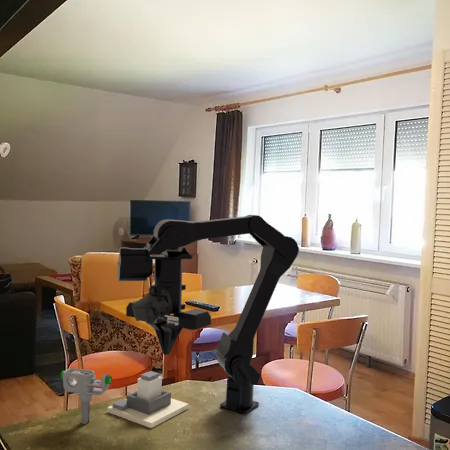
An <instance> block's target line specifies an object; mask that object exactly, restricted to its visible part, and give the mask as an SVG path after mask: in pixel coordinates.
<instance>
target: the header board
mask: <svg viewBox="0 0 450 450" xmlns="http://www.w3.org/2000/svg"><path fill="white" fill-rule="evenodd" d="M189 404H190V403H187V402H184V401H181V400H178V399H174V398H172V392H170V391H167V390H164V389H161V396H159V397H157V398H155V399H153V400H151V401H147V400H144V399H141V398H138V397H137V390H136V391H134V392H131V393H129V394H127V395H126V399H123V398H122V399H120V400H116V401H115V402H113V403H112V405H109V406H108V407H107V413H108V414H111V415H115V416H117V417H119V418H123V419H125V420H128V421H130V422H133V423H135V424H139V425H141V426H144V427H147V428H149V429H152V428H154V427H157V426H158V425H160V424H162V423H164V422H166V421H168V420H169V419H171V418H173V417H175V416H177V415H179V414H181V413H182V412H185V411H186V410H188V409H189V406H190V405H189Z"/></svg>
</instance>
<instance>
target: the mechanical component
mask: <svg viewBox="0 0 450 450" xmlns="http://www.w3.org/2000/svg"><path fill="white" fill-rule="evenodd" d="M60 379H61V380H62V381H63V382H62V383H63V385H62V386H63V389H64V390H65V391H66V392H67V393H76V394H79V398H78V400H79V401H80V402H81V409H80V410H81V412H80V413H81V414H80V417H81V418H80V423H81V424H84V425H85V424H87V425H88V422H90V413H91V412H90V409H91V403H90V402H92V400H93V396H102V395H103V394H104V393H105V392H106V391H108V390H109V389H110V385H111V384H112V383H113V376H112V375H110V374H107V373H105V374H103V375H102V377H101V379H97V375H95V371H94V370H92V369H91V370H90V369H82V368H72V367H69V368H68V369H66V370H64V369H63V370H62V371H61V372H60ZM98 387H99V388H98Z"/></svg>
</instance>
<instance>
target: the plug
mask: <svg viewBox="0 0 450 450" xmlns="http://www.w3.org/2000/svg"><path fill="white" fill-rule="evenodd" d="M162 383H163V377H162V376H160V373H159V372H155V371H151V370H150V371H146V372H145V373H142V374H140V377H139V378H137V387H136V389H137V390H136V391H137V397H138V398H141V399H144V400H147V401H151V400H153V399H155V398H157V397H159V396H161V390H163V389H162V387H163V386H162Z"/></svg>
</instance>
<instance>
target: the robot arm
mask: <svg viewBox="0 0 450 450" xmlns="http://www.w3.org/2000/svg"><path fill="white" fill-rule="evenodd" d="M240 235H250V236H251V237H252V238H253V239H254V240H255V241H256V242H257V243H258V244H259V245H260V246H261V247H262V250H261V254H260V267H259V268H260V269H259V272H258V273H257V276H256V278H255V281H254V283H253V286H252V288H251V290H250V293H249V295H248V296H247V297H248V298H247V300H246V302H245V303H244V307H243V308H242V311H241V313H240V316H239V318H238V320H237V323H236V325H235V327H234V329H233V330H232V331H231V332H230V333H226V332H222V334H221V337H220V340H219V343H218V344H217V345H216V347H215V350H216V355H215V356H216V360H217V362H218V364H219V365H220V367H222V369H223V370H224V372H225V374H227V375H228V377H227V380H226V390H225V392H226V394H225V400H224V401H222V402H221V403H220V404H219V407H221V408H224V409H227V410H230V411H234V412H237V413H240V414H243V415H244V414H247V413H248V412H250V411H252V410H253V409H255V408H257V407H258V406H259V405H260V402H259V401H255V400H254V389H255V388H254V385H258V383H259V381H260V378H261V374H260V373H259V372H258V371H257V370H256V369H255V368H254V367H253V366H252V365H251V364H252V360H253V356H254V346H255V345H254V344H255V342H254V339H255V336H256V334H257V331H258V330H259V327H260V325H261V323H262V320H263V318H264V316H265V313H266V311H267V308H268V306H269V303H270V302H271V300H272V296H273V294H274V292H275V290H276V287H277V285H278V283H279V280H280V278H281V277H282V276H283V275H284V274H286V272H287V271H288V270H289V269H290V268H291V267H292V265H293V264H294V262H295V260H296V259H297V257H298V255H299V252H300V247H299V245H298V242H297V241H296V239H294V238H293V237H291V236H288V235H285V234H283V233H282V232H281V231H279V230H278V229H276V228H275V227H274V226H272V225H271V224H269V223H268V221H266V220H264V218H263V217H262V216H260V215H258V214H248V215H245V216H238V217H237V216H236V217H228V218H226V217H225V218H219V219H217V218H216V219H209V220H199V221H194V220H193V221H191V220H182V219H181V220H180V219H162V220H160V221H158V222H157V224H156V225H155V227H154V229H153V235H152V236H151V238H150V239H149V240H148V242H147V243H146V244H145V246H144V247H143V248H138V247H135V248H133V247H131V248H130V247H125V246H124V247H123V246H121V247H119V253H118V261H117V262H116V268H117V271H116V272H117V273H116V274H117V275H116V276H117V281H118V282H147V279H148V278H151V277H152V276H153V275H154V278H153V279H154V280H153V284H152V285H149V288H148V294H147V295H145V296H143V297H141V298H140V299H138V300H135V301H130V302H128V304H127V306H126V307H125V308H126V309H125V313H126V314H125V316H126V317H130V318H134V319H135V321H137V322H139V321H140V322H144V323H145V324H146V325H149V326H150V327H151V328H152V329H154V331H155V334H156V336H157V339H158V342H159V345H160V349H161V351H162V355H164V356H168V355H170V354H171V352H172V349H173V348H174V345H175V343H176V341H177V339H178V337H179V335H180V334H181V332H182V330H183V329H186V330H190V331H191V330H192V331H196V330H199V329H202V328H205V327H208V326H211V325H212V316H211V314H210V312H209V311H208V310H203V309H202V310H201V309H197V308H193V309H190V310H186V304H185V303H182V298H183V297H182V296H183V295H182V293H183V292H182V291H185V290H186V289H187V287H186V284H183V260H193V255H191V253H189V251H187V248H186V246H188V245H191V244H193V243H196V242H198V241H201V240H208V239H214V238H215V239H217V238H224V237H232V236H240ZM178 248H179V249H178ZM168 249H169V250H168ZM175 249H178V250H175ZM163 253H164V254H163ZM153 260H154V261H153ZM153 262H154V264H153ZM153 265H154V267H153ZM153 268H154V272H153ZM153 273H154V274H153ZM183 310H185V311H183Z"/></svg>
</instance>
